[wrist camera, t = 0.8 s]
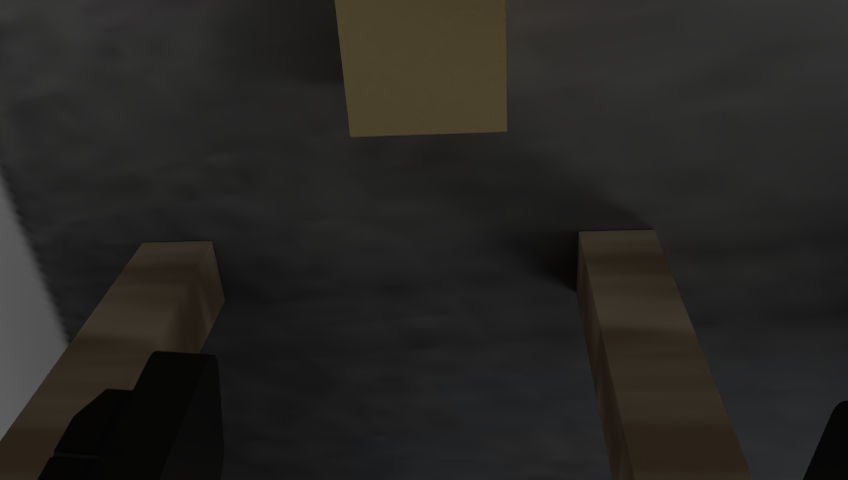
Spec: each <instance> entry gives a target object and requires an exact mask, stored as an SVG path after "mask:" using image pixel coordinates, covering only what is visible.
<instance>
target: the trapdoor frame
mask: <svg viewBox="0 0 848 480" xmlns="http://www.w3.org/2000/svg"><path fill="white" fill-rule="evenodd" d="M577 299H578V304H579V309H580V314H581V319H582V324H583V329H584V335H585V340H586V345H587V350H588V355H589V360H590V365H591V371H592V376H593V381H594V386H595V391H596V396H597V401H598V407H599V412H600V417H601V422H602V427H603V432H604V438H605V443H606V448H607V453H608V458H609V463H610V468H611V474H612V479H613V480H753V478H752V475H751V473H750V470H749V468H748V465H747V463H746V460H745V458H744V455H743V453H742V450H741V448H740V445H739V442H738V440H737V437H736V435H735V432H734V430H733V427H732V425H731V422H730V420H729V417H728V415H727V412H726V409H725V407H724V404H723V402H722V399H721V397H720V394H719V392H718V389H717V387H716V384H715V382H714V379H713V377H712V374H711V371H710V369H709V366H708V364H707V361H706V359H705V356H704V354H703V351H702V349H701V346H700V344H699V341H698V338H697V336H696V333H695V331H694V328H693V326H692V323H691V321H690V318H689V316H688V313H687V311H686V308H685V305H684V303H683V300H682V298H681V295H680V293H679V290H678V288H677V285H676V283H675V280H674V278H673V275H672V273H671V270H670V267H669V265H668V262H667V260H666V257H665V255H664V252H663V250H662V247H661V245H660V242H659V240H658V237H657V234H656V232H655V230H618V231H579V243H578V268H577ZM224 301H225V298H224V293H223V289H222V284H221V279H220V275H219V270H218V266H217V261H216V257H215V252H214V248H213V243H212V241H186V242H147V243H142V244H141V246H140V247H139V248H138V250H137V251H136V253H135V254H134V255H133V257H132V258H131V260H130V261H129V262H128V264H127V265H126V266H125V268H124V269H123V271H122V272H121V273H120V275H119V276H118V278H117V279H116V280H115V282H114V283H113V285H112V286H111V287H110V289H109V290H108V292H107V293H106V294H105V296H104V297H103V299H102V300H101V301H100V303H99V304H98V306H97V307H96V308H95V310H94V311H93V313H92V314H91V315H90V317H89V318H88V320H87V321H86V322H85V324H84V325H83V327H82V328H81V329H80V331H79V332H78V334H77V335H76V336H75V338H74V339H73V340H72V342H71V343H70V345H69V346H68V347H67V349H66V350H65V352H64V353H63V354H62V356H61V357H60V359H59V360H58V361H57V363H56V364H55V366H54V367H53V368H52V370H51V371H50V373H49V374H48V375H47V377H46V378H45V380H44V381H43V383H42V384H41V385H40V387H39V388H38V390H37V391H36V392H35V394H34V395H33V396H32V398H31V399H30V401H29V402H28V403H27V405H26V406H25V408H24V409H23V410H22V412H21V413H20V414H19V416H18V417H17V419H16V420H15V422H14V423H13V424H12V426H11V427H10V428H9V430H8V431H7V433H6V434H5V436H4V437H3V438H2V440H1V441H0V480H38V477H39V475H40V474H41V472H42V470H43V468H44V467H45V465H46V463H47V461H48V460H49V458H50V457H53V455H54V449H55V448H56V446H57V444H58V442H59V441H60V439H61V437H62V435H63V434H64V432H65V430H66V428H67V427H68V425H69V423H70V421H71V420H72V418H73V416H74V415H76V414H77V413H78V412H79V411H80V410H82V409H83V408H84V407H85V406H86V405H88V404H89V403H90V402H91V401H92V400H94V399H95V398H96V397H97V396H98V395H100V394H101V393H102V392H103V391H104V390H106V389H107V388H108V389H122V390H133V389H134V387H135V385H136V383H137V381H138V379H139V377H140V375H141V373H142V371H143V369H144V367H145V365H146V363H147V361H148V359H149V357H150V356H151V354H152V353H153V352H155V351H169V352H183V353H198V354H200V351H201V349H202V347H203V345H204V343H205V341H206V339H207V337H208V335H209V333H210V331H211V329H212V326H213V324H214V322H215V320H216V318H217V316H218V314H219V312H220V310H221V308H222V306H223V304H224Z"/></svg>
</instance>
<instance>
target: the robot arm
mask: <svg viewBox="0 0 848 480" xmlns="http://www.w3.org/2000/svg"><path fill="white" fill-rule="evenodd" d="M223 456H224V437H223V424H222V411H221V398H220V385H219V372H218V363H217V359H216V357H215V355H212V354H198V353H183V352H169V351H155V352H153V353H152V354H151V356H150V357H149V359H148V361H147V363H146V365H145V367H144V369H143V371H142V373H141V375H140V377H139V379H138V381H137V383H136V385H135V387H134V389H133V390H122V389H108V388H107V389H106V390H104V391H103V392H102V393H101V394H100V395H98V396H97V397H96V398H95V399H94V400H92V401H91V402H90V403H89V404H88V405H86V406H85V407H84V408H83V409H82V410H80V411H79V412H78V413H77V414H76V415H74V416H73V418H72V420H71V421H70V423H69V425H68V427H67V428H66V430H65V432H64V434H63V435H62V437H61V439H60V441H59V442H58V444H57V446H56V448H55V449H54V455H53V457H50V458H49V460H48V461H47V463H46V465H45V467H44V468H43V470H42V472H41V474H40V475H39V477H38V480H220V479H221V473H222V466H223ZM803 480H848V401H843V402H841V403H839V404H838V405H837V406H836V407H835V409H834V410H833V412H832V414H831V416H830V419H829V421H828V423H827V426H826V428H825V430H824V432H823V435H822V437H821V439H820V442H819V444H818V446H817V449H816V451H815V453H814V455H813V458H812V460H811V462H810V465H809V467H808V469H807V472H806V474H805V476H804V479H803Z"/></svg>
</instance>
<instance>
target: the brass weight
mask: <svg viewBox="0 0 848 480" xmlns="http://www.w3.org/2000/svg"><path fill="white" fill-rule="evenodd" d="M335 8H336V17H337V25H338V34H339V43H340V51H341V60H342V69H343V78H344V86H345V95H346V104H347V112H348V121H349V130H350V137H371V136H399V135H427V134H455V133H484V132H507V71H506V0H335Z"/></svg>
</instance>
